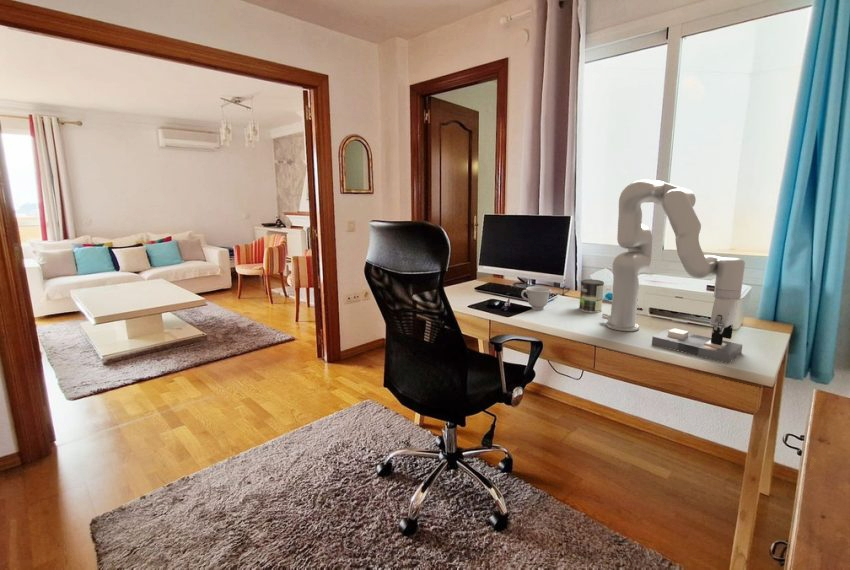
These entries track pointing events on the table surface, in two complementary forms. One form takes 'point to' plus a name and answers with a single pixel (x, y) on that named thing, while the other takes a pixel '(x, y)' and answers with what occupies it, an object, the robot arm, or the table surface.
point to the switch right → (715, 345)
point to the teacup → (537, 296)
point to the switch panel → (698, 346)
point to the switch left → (678, 334)
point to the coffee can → (591, 295)
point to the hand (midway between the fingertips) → (721, 340)
